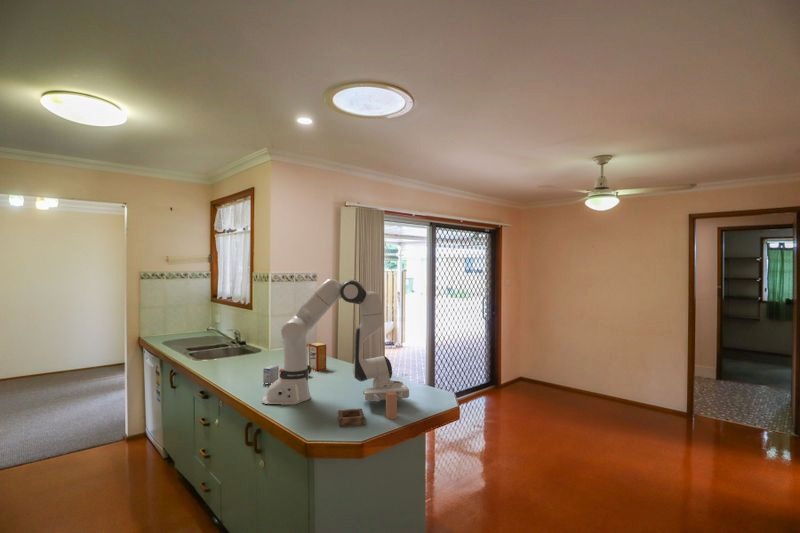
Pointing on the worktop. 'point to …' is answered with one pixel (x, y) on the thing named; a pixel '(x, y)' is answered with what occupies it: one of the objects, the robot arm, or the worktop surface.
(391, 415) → the salmon orange rectangular block
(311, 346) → the baking soda box
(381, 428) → the worktop surface
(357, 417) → the walnut well
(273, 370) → the medicine box
